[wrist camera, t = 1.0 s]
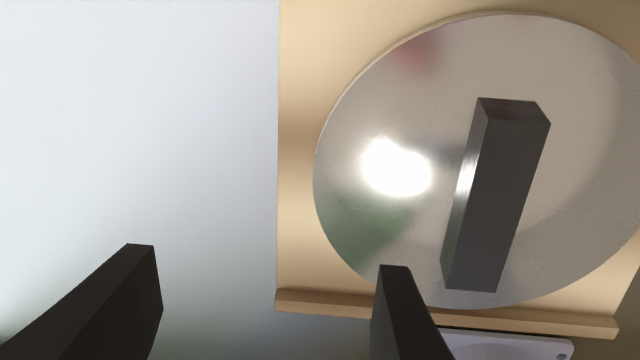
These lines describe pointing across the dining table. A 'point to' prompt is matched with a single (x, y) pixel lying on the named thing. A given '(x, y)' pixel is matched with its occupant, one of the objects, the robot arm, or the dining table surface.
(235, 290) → the dining table surface
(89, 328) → the robot arm
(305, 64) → the lid rest
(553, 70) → the lid
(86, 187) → the dining table surface
